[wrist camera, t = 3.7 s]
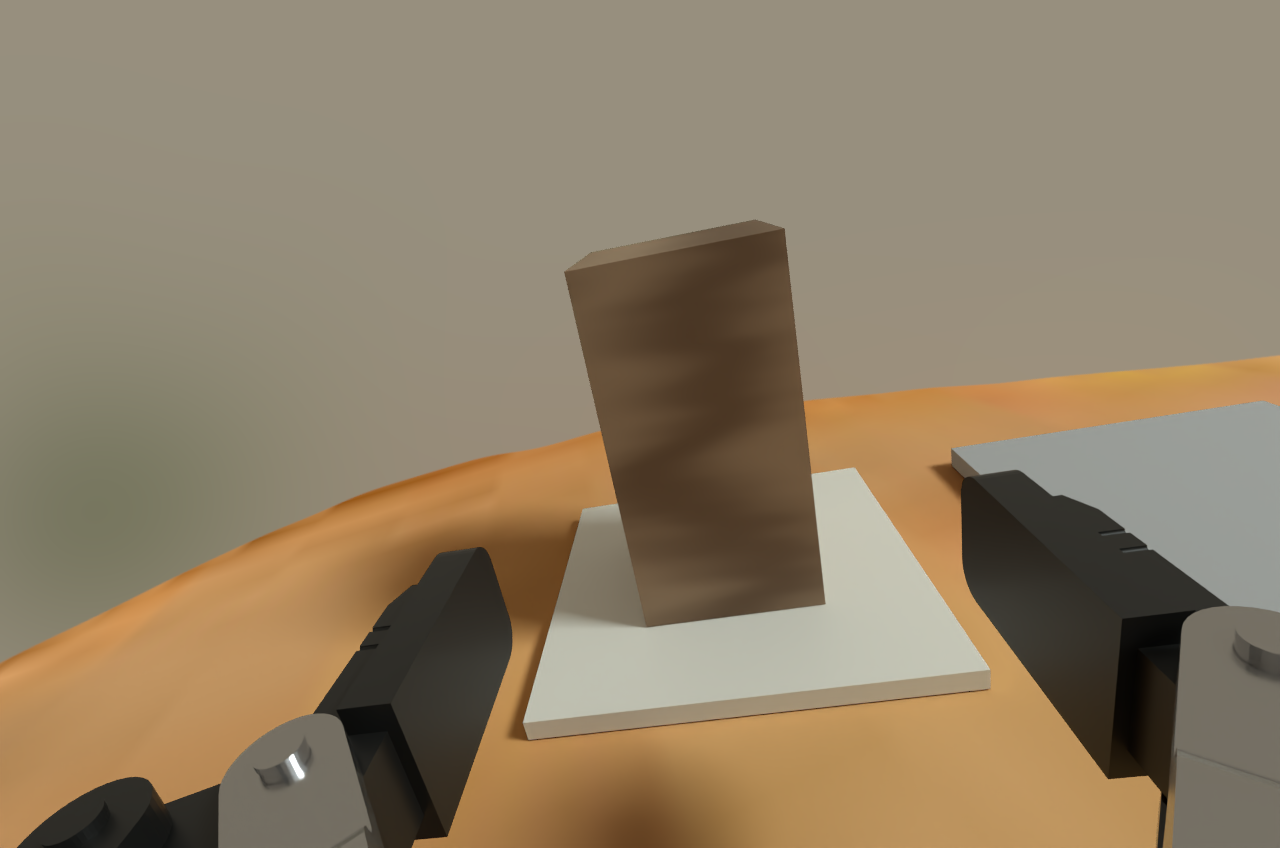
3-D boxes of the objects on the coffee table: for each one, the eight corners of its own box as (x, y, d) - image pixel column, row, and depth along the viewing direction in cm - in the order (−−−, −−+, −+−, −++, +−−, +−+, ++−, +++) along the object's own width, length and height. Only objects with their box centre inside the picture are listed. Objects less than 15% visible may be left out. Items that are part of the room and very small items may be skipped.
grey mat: (1162, 669, 15) (1165, 642, 15) (951, 465, 26) (951, 448, 26) (1746, 605, 14) (1761, 574, 13) (1260, 419, 25) (1263, 400, 25)
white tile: (528, 740, 17) (522, 722, 16) (585, 520, 28) (582, 508, 28) (990, 688, 15) (990, 668, 15) (855, 480, 27) (854, 467, 26)
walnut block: (646, 627, 19) (564, 271, 16) (651, 535, 24) (591, 252, 21) (825, 604, 19) (784, 228, 15) (792, 515, 24) (755, 219, 20)
